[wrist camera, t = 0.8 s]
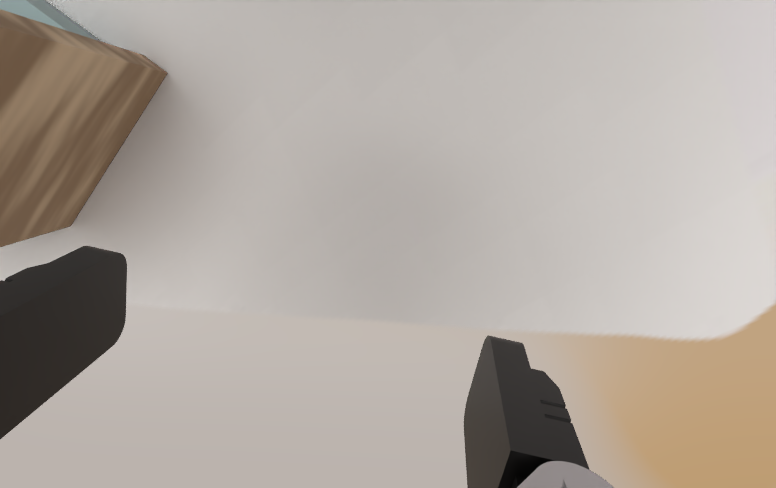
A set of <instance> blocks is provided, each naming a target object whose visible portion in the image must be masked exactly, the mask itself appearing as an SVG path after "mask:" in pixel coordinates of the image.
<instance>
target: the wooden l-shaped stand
mask: <svg viewBox="0 0 776 488" xmlns="http://www.w3.org/2000/svg"><path fill="white" fill-rule="evenodd" d="M166 75H167V72H166V71H164V70H163V69H162V68H160V67H159V66H157V65H156V64H155V63H153V62H152V61H151V60H149V59H148V58H147V57H145V56H144V55H141V54H138V53H135V52H132V51H129V50H125V49H122V48H119V47H116V46H113V45H110V44H107V43H104V42H101V41H98V40H94V39H91V38H88V37H85V36H82V35H79V34H76V33H73V32H70V31H67V30H63V29H60V28H57V27H54V26H51V25H48V24H45V23H42V22H39V21H36V20H32V19H29V18H26V17H23V16H20V15H17V14H14V13H11V12H8V11H5V10H1V9H0V247H2V246H6V245H9V244H12V243H16V242H19V241H22V240H26V239H29V238H32V237H36V236H39V235H42V234H46V233H49V232H52V231H56V230H59V229H62V228H66V227H69V226H71V225H72V223H73V222H74V220H75V218H76V217H77V215H78V214H79V212H80V211H81V209H82V207H83V206H84V204H85V203H86V201H87V199H88V198H89V196H90V195H91V193H92V192H93V190H94V188H95V187H96V185H97V184H98V182H99V181H100V179H101V177H102V176H103V174H104V173H105V171H106V169H107V168H108V166H109V165H110V163H111V162H112V160H113V158H114V157H115V155H116V154H117V152H118V151H119V149H120V147H121V146H122V144H123V143H124V141H125V139H126V138H127V136H128V135H129V133H130V132H131V130H132V128H133V127H134V125H135V124H136V122H137V121H138V119H139V117H140V116H141V114H142V113H143V111H144V109H145V108H146V106H147V105H148V103H149V102H150V100H151V98H152V97H153V95H154V94H155V92H156V91H157V89H158V87H159V86H160V84H161V83H162V81H163V79H164V78H165V76H166Z"/></svg>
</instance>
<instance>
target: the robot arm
mask: <svg viewBox="0 0 776 488" xmlns="http://www.w3.org/2000/svg"><path fill="white" fill-rule="evenodd" d="M126 280H127V263H126V259H125V257H124V255H123V254H121V253H117V252H113V251H108V250H104V249H99V248H95V247H90V246H83V247H81V248H79V249H77V250H75V251H73V252H70V253H68V254H66V255H64V256H62V257H60V258H58V259H56V260H54V261H52V262H50V263H47V264H43V265H38V266H34V267H30V268H27V269H24V270H22V271H20V272H18V273H16V274H14V275H12V276H10V277H8V278H6V280H5V281H2V280H1V281H0V439H1V438H2V437H4V436H5V435H6V434H7V433H8V432H10V431H11V430H12V429H13V428H14V427H15V426H17V425H18V424H19V423H20V422H22V421H23V420H24V419H25V418H26V417H28V416H29V415H30V414H31V413H32V412H33V411H35V410H36V409H37V408H38V407H40V406H41V405H42V404H43V403H44V402H46V401H47V400H48V399H49V398H50V397H52V396H53V395H54V394H55V393H56V392H58V391H59V390H60V389H61V388H62V387H64V386H65V385H66V384H67V383H69V382H70V381H71V380H72V379H73V378H75V377H76V376H77V375H78V374H79V373H80V372H82V371H83V370H84V369H85V368H87V367H88V366H89V365H90V364H91V363H93V362H94V361H95V360H96V359H97V358H99V357H100V356H101V355H102V354H104V353H105V352H106V351H107V350H108V349H109V348H111V347H112V346H113V345H114V344H115V343H116V342H117V340H118V338H119V337H120V335H121V332H122V330H123V327H124V324H125V317H126V316H125V315H126ZM570 422H571V419H570V416H569V413H568V411H567V409H565V402H564V400H563V397H562V394H561V392H560V389H559V388H558V386H557V385H556V384H555V383H554V382H553V381H552V380H551V379H550V378H549V377H548V376H547V375H546V373H545V372H543V371H539V370H535V369H531V368H530V365H529V361H528V358H527V355H526V352H525V348H524V345H523V344H522V343H519V342H515V341H510V340H506V339H501V338H496V337H492V336H487V337H486V339H485V341H484V344H483V347H482V350H481V353H480V357H479V360H478V364H477V367H476V371H475V374H474V377H473V381H472V384H471V388H470V391H469V395H468V398H467V403H466V408H465V416H464V436H465V453H466V467H467V485H468V488H613V486H612V485H610V484H609V483H608V482H607V481H606V480H604V479H603V478H602V477H600V476H599V475H597V474H596V473H594V472H592V471H591V470H589V467H588V464H587V462H586V459H585V456H584V454H583V451H582V448H581V445H580V443H579V440H578V437H577V435H576V432H575V430H574V427H573V424H572V423H570Z"/></svg>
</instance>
